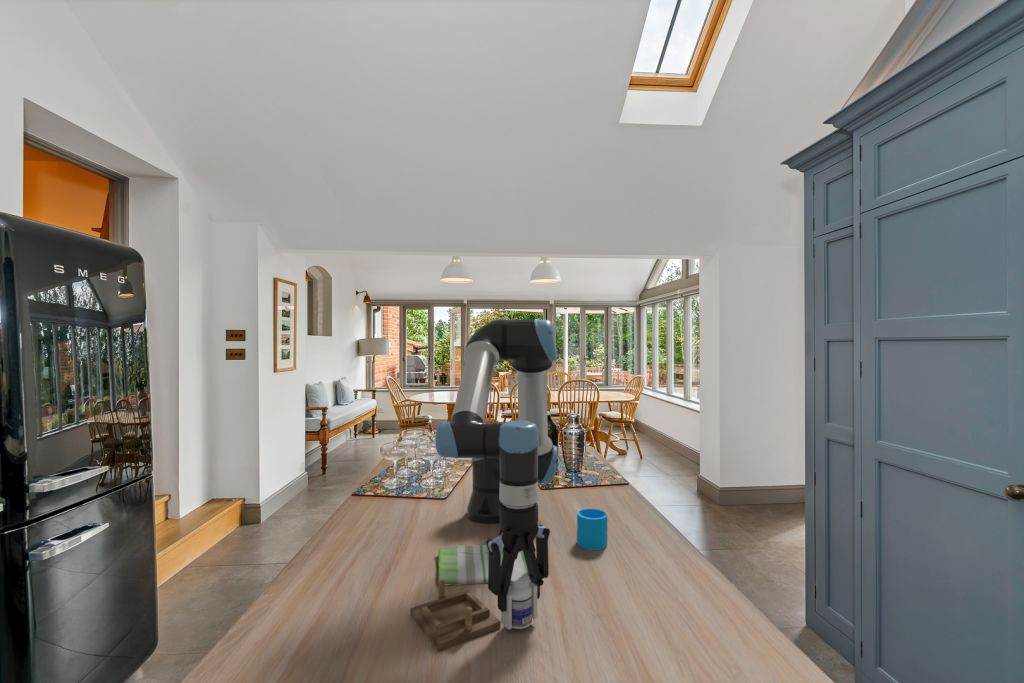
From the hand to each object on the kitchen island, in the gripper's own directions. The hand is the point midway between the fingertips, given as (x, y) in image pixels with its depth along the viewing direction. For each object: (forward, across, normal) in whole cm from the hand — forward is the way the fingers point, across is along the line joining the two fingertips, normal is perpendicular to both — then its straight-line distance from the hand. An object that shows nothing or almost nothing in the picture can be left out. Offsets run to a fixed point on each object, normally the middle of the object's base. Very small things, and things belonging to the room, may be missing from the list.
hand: (519, 620), depth 95 cm
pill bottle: (+1, 0, 0) cm, 1 cm away
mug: (+2, +39, +23) cm, 45 cm away
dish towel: (+2, +7, +26) cm, 27 cm away
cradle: (+1, -10, +9) cm, 13 cm away
